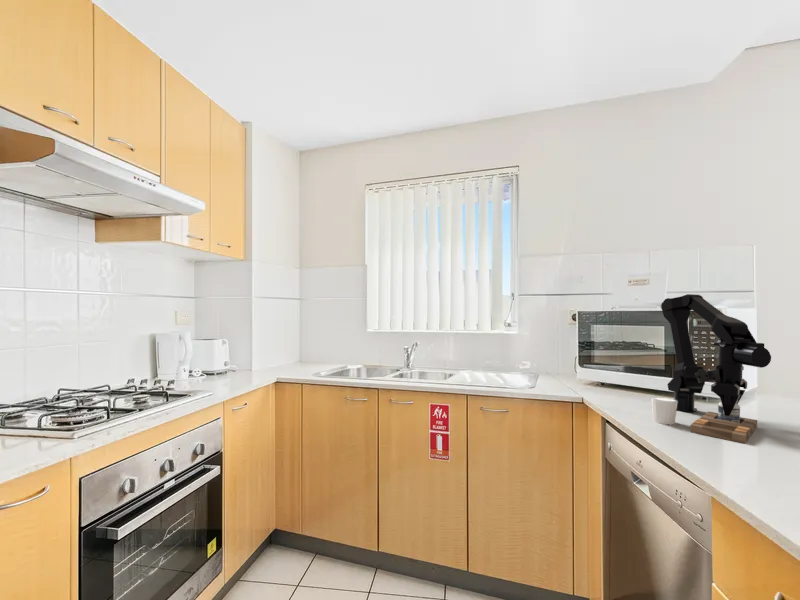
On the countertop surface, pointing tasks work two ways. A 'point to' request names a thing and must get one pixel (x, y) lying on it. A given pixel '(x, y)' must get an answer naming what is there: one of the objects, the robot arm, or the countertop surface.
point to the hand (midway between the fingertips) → (728, 413)
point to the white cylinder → (664, 410)
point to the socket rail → (724, 427)
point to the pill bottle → (733, 416)
